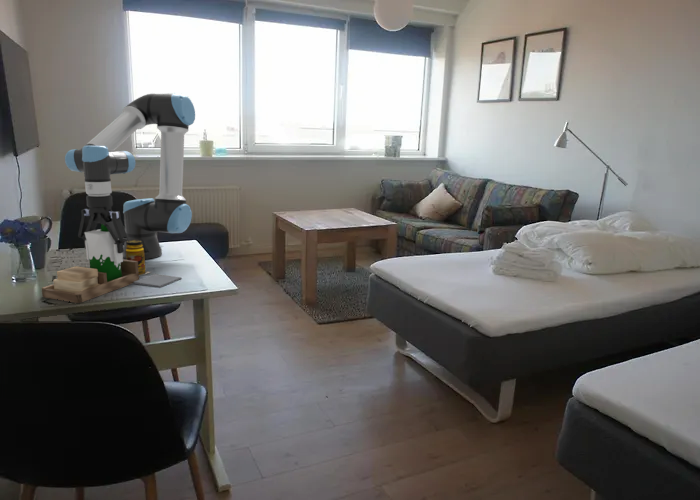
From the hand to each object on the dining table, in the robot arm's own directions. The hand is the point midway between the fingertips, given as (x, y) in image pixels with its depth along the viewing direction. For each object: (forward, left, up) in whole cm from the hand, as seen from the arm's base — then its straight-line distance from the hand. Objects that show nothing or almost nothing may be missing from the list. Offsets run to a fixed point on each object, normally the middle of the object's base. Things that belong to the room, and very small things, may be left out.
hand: (104, 260), depth 169 cm
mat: (-9, +13, -8) cm, 18 cm away
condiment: (-14, -1, -8) cm, 17 cm away
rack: (+6, 0, -8) cm, 10 cm away
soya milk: (0, 0, -8) cm, 8 cm away
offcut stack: (+12, 0, -8) cm, 14 cm away
